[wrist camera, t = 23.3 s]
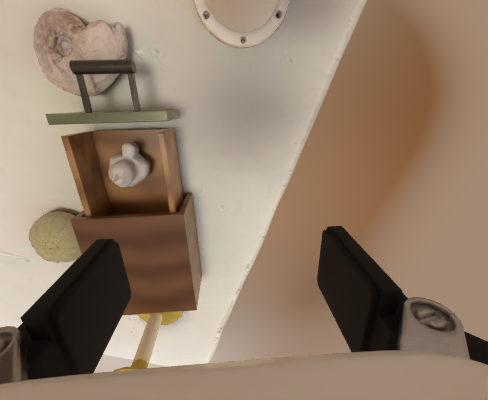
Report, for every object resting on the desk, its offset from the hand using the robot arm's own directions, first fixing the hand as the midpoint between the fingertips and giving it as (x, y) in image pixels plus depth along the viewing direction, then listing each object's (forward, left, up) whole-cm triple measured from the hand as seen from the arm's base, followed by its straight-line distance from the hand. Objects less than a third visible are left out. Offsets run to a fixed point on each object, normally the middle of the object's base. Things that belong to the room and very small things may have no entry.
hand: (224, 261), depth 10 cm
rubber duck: (+1, -14, -28) cm, 32 cm away
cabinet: (+16, -14, -30) cm, 37 cm away
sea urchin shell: (+14, -29, -30) cm, 44 cm away
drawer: (0, -14, -29) cm, 32 cm away
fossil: (-13, -18, -30) cm, 38 cm away
